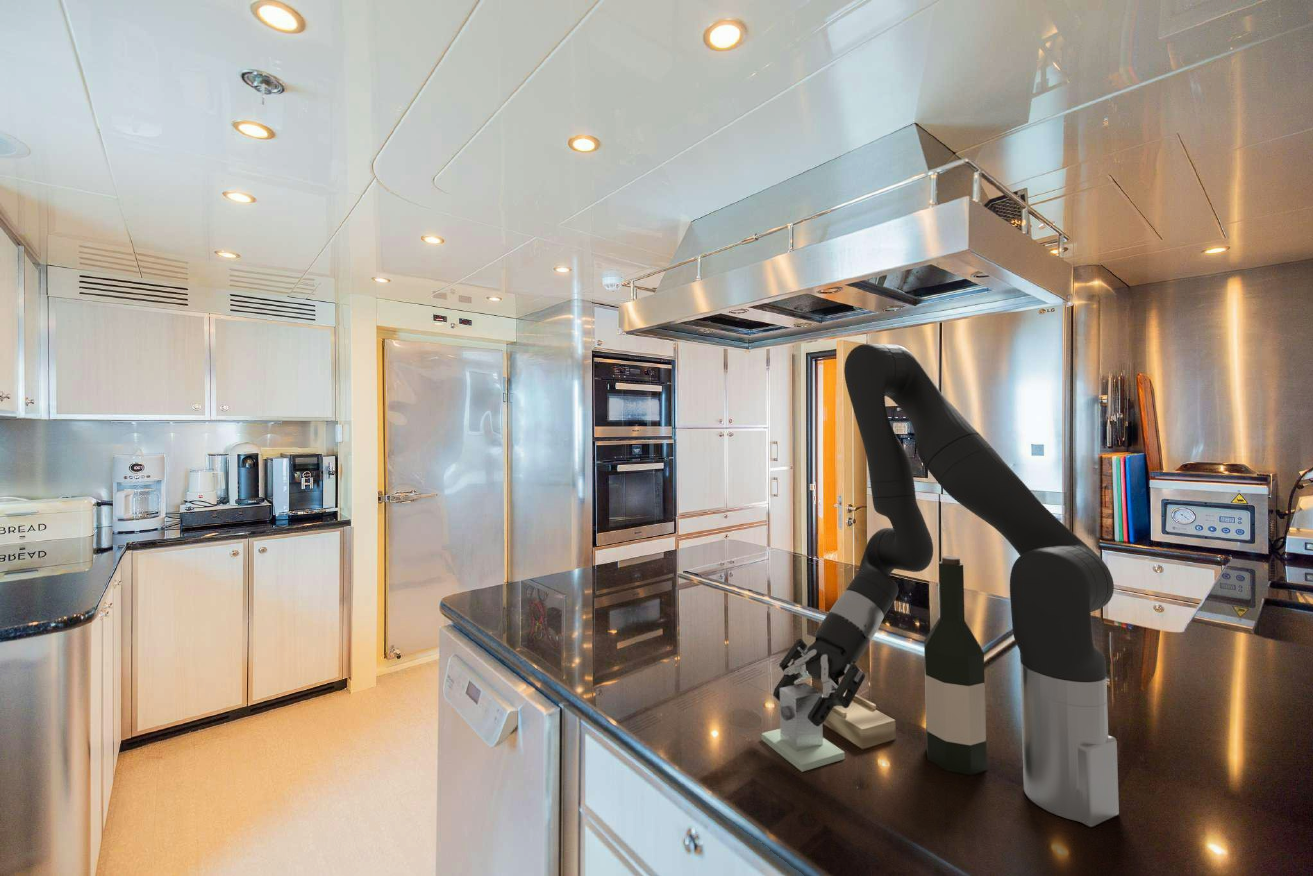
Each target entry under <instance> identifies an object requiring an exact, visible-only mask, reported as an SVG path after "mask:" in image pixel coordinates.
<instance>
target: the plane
mask: <svg viewBox="0 0 1313 876" xmlns="http://www.w3.org/2000/svg"><path fill="white" fill-rule="evenodd" d="M811 686H812V687H814V688H816V689H817V690H819V691H821V692H822V697H823V684H822V682H821V681H820V680H817V679H815V678H813V677H811ZM845 694H846V692H845V693H844V695H843V696H845ZM823 725H824V726H826V727H828V728H829V729H830V730H832V731H834V732H836V733H837V734H838V735H840V736H841V737H843V738H845V739H847V740H848V741H849V742H851V743H853V744H854V745H856V746H857V747H859V748H860V749H861V750H864V749H868V748H871V747H873V746H877V745H881V744H884V743H888V742H891V741H895V740H896V739H897V737H896V735H897V732H896V731H897V730H896V719H894V718H892V717H890V716H888V715H886V714H885V713H883V712H882V711H880V710H877V705H876V704H875V703H873V702H872V701H869V700H867V699H866V698H864V697H862V696H860V695H858V694H856V695H855V696H854V698H853V700H852V702H851V704H850V705H849V707H848V708H843V707H842V706H836V707H833V708H832V710H831V711H830V713H829V715H828V716H827V718H826V719H825V721H824V722H823Z"/></svg>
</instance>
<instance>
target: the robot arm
mask: <svg viewBox="0 0 1313 876" xmlns="http://www.w3.org/2000/svg"><path fill="white" fill-rule="evenodd" d="M843 370H844V371H843V372H844V380H845V385H846V389H847V393H848V397H849V399H850V402H851V403H850V404H851V406H852V409H853V413H854V417H855V420H856V425H857V426H858V430H859V433H860V436H861V441H862V444H863V447H864V448H863V449H864V451H865V456H866V461H867V467H868V474H869V481H870V490H871V497H872V498H871V499H872V504H873V509H874V511H875V512H876V513H877V514H879V515H881V516H884V517H886V518H887V519H888V520H889V522H890V525H891V526H892V527H884V528H880V529H879V530H877V531H876V532H875V533H873V535H871V536H870V538H869V540H868V542H867V543H866V547H865V548H864V552H863V555H862V558H861V560H860V564H859V567H858V571H857V573H856V575H855V576H854V577H853V579H851V580H852V581H851V582H850V583H849V585H848V587H847V588H846V590H844V592H843V593H842V594H841V595H840V596H839V597H838V598H837V600H836V601H835V603H834V604H833V606H832V607H831V608H830V610H829V611H828V613H827V614H826V616H825V618H824V619H823V620H822V622H821V623H820V625H819V626H818V628H817V629H816V630H815V635H814V636H815V640H814V642H813V643H812V644H810V645H809V644H807V643H806V642H805V641H804V640H803V639H802V638H798V639H797V640H796V641H795V643H794V644H793V645H792V647H791V648H790V649H789V651H788V652H787V654H785V656H784V657H783V659H782V660H781V661H780V663H779V668H780V669H781V670H782V672H783V676H782V677H781V679H780V681H779V682H778V683H777V685H776V686H775V688H774V691H773V693H772V694H773V697H774V698H775V700H777V701H779V702H780V688H783V687H787V686H792V685H796V683H798V682H800V681H802V680H803V679H805V680H809V679H812V677H813V678H815V679H817V680H820V681H821V682H822V684H823V697H821V696H820V697H819V699H818V700H817V702H816V703H815V705H814V706H813V708H812V710H811V711H810V713H809V714H808V719H809V720H810V721H811V722H812V723H813V724H814V725H815V726H819V725H820V724H822V723H823V722H824V721H825V719H826V718H827V716H828V715H829V713H830V711H831V710H832V708H833V707H836V706H842V707H843V708H848V707H849V705H850V704H851V702H852V700H853V698H854V696H855V695H857V692H858V691H859V689H860V687H861V685H862V684H863V682H864V680H865V677H866V674H865V673H864V672H863V671H862V669H861V668H859V666H857V663H858V662H859V660H860V659H861V657H862V656H863V654H864V652H865V651H866V649H867V647H868V646H869V645H870V643H871V641H872V640H873V638H874V637H875V635H876V634H877V632H878V630H879V628H880V627H881V626H880V625H881V624H882V622H883V619H884V617H885V616H886V615H887V613H888V612H889V610H890V608H891V607H892V605H893V603H894V602H895V600H896V598H897V596H898V594H899V587H898V583H897V582H896V581H895V579H894V578H892V577H891V574H892V573H893V571H894V570H898V571H904V572H905V571H906V572H912V573H918V572H919V573H920V572H922V571H925V570H926V569H927V568H928V567H929V566H930V564H931V562H932V560H933V555H934V543H933V539H932V537H931V536H932V535H931V533H930V531H929V529H928V526H927V524H926V521H925V518H924V516H923V513H922V512H921V509H920V507H919V504H918V502H917V494H916V487H915V479H914V473H913V468H912V465H911V461H910V458H909V456H908V453H907V451H906V450H905V448H904V446H903V445H902V442H901V441H900V440H899V438H898V435H896V432H895V430H894V429H893V426H892V424H891V421H890V418H889V416H888V412H887V407H886V400H885V399H886V398H885V397H887V398H889V399H890V400H891V401H892V402H893V403H895V404H896V406H898V408H899V409H900V410H901V411H902V412H903V413H904V414H905V416H906V417H907V419H908V420H909V422H910V423H911V426H912V429H913V434H914V440H915V441H914V442H915V445H916V450H917V453H918V456H919V458H920V461H921V462H922V464H923V465H924V467H925V468H926V469H927V471H928V472H929V473H930V475H932V476H931V477H933V478H934V480H935V481H936V482H937V483H938V484H939V485H940V487H941V488H942V489H943V490H944V491H945V492H946V493H947V494H948V496H950V497H951V498H952V499H954V501H956V502H957V503H958V504H960V505H961V506H963V507H964V508H966V509H967V510H969V512H971V513H972V514H974V515H975V516H977V517H978V518H980V519H981V520H983V521H985V522H986V523H988V525H990V526H991V527H993V528H994V529H995V530H996V531H997V532H998V533H1000V534H1001V535H1002V537H1004V539H1005V540H1007V542H1008V543H1009V544H1010V545H1011V547H1012V548H1014V550H1015V551H1016V552H1017V554H1018V555H1019V556H1018V557H1017V558H1016V560H1015V561H1014V563H1013V565H1012V567H1011V571H1010V577H1009V598H1010V600H1009V601H1010V610H1011V611H1010V612H1011V613H1010V614H1011V625H1012V627H1011V628H1012V635H1013V639H1014V642H1015V644H1016V646H1017V648H1018V649H1019V659H1020V660H1019V661H1020V700H1021V701H1020V703H1021V736H1022V737H1021V738H1022V739H1021V740H1022V741H1021V743H1022V744H1021V745H1022V767H1023V768H1022V775H1023V776H1022V777H1023V791H1024V794H1025V795H1026V797H1027V798H1028V799H1029V800H1030V801H1031V802H1033V803H1034V804H1035V805H1037V806H1038V807H1040V808H1041V809H1043V810H1045V811H1047V812H1048V813H1051V814H1054V815H1056V816H1059V817H1062V818H1064V819H1067V820H1072V821H1075V822H1080V823H1082V824H1084V826H1085V825H1086V826H1087V827H1089V828H1093V827H1095V826H1096V825H1099V824H1101V823H1103V822H1105V821H1107V820H1110V819H1112V818H1114V817H1116V816H1118V815H1119V813H1120V811H1119V810H1120V809H1119V806H1120V805H1119V779H1118V778H1119V776H1118V774H1119V773H1118V745H1117V743H1118V742H1117V738H1115V737H1114V736H1111V735H1110V734H1109V724H1108V723H1109V722H1108V721H1109V720H1108V719H1109V717H1108V716H1109V715H1108V690H1107V689H1108V688H1107V684H1108V683H1107V659H1106V656H1105V655H1104V653H1103V652H1102V651H1101V650H1100V649H1099V648H1097V647H1096V646H1095V645H1094V641H1093V629H1092V615H1091V614H1092V613H1093V612H1096V611H1099V610H1100V609H1102V608H1104V607H1106V605H1108V604H1109V603H1110V601H1111V599H1112V598H1113V596H1114V591H1115V587H1114V580H1113V576H1112V574H1111V571H1110V569H1109V567H1108V566H1107V564H1106V562H1105V561H1104V560H1103V559H1102V558H1101V557H1100V556H1099V555H1098V554H1097V553H1096V552H1095V551H1094V550H1093V549H1092V548H1091V547H1090V546H1088V545H1087V544H1086V543H1085V542H1084V541H1083V540H1082V539H1080V537H1078V536H1077V535H1076V534H1075V533H1074V532H1073V531H1072V530H1070V528H1068V527H1067V526H1066V525H1065V524H1064V523H1063V522H1062V521H1060V520H1059V519H1058V518H1057V517H1056V516H1055V515H1054V514H1052V513H1051V511H1050V510H1049V509H1047V508H1046V507H1045V505H1043V503H1041V501H1040V500H1039V499H1038V498H1037V497H1036V496H1035V494H1034V493H1033V492H1032V491H1031V490H1030V489H1029V487H1028V486H1027V485H1026V484H1025V483H1024V482H1023V480H1022V479H1020V477H1019V476H1018V475H1017V474H1016V473H1015V472H1014V471H1013V470H1012V469H1011V468H1010V466H1009V465H1008V464H1007V463H1006V462H1005V461H1004V460H1003V458H1002V457H1001V456H1000V455H999V454H998V453H997V451H996V450H995V449H994V448H993V447H992V445H990V444H989V442H988V441H987V440H986V439H985V438H984V437H983V436H982V435H981V433H979V432H978V431H977V430H976V429H975V428H974V427H973V426H972V425H971V424H970V423H969V422H968V420H966V419H965V417H964V416H963V415H962V414H961V413H960V411H959V410H958V409H956V407H955V406H954V405H953V404H952V403H951V402H950V401H949V400H948V399H947V398H946V396H944V395H943V394H942V392H941V391H940V389H939V388H938V387H937V385H935V383H934V382H933V380H932V379H931V378H930V376H929V374H928V373H927V372H926V371H925V369H924V368H923V367H922V364H920V362H919V361H918V360H917V359H916V357H915V355H913V353H911V351H909V350H908V349H907V348H905V347H903V346H901V345H897V344H891V343H862V344H859V345H857V346H855V347H854V348H853V349H851V351H850V352H849V353H848V354H847V356H846V358H845V361H844V369H843ZM791 661H792V663H791V664H790V662H791ZM789 664H790V665H789ZM841 678H842V679H841ZM844 693H846V694H845V696H843V695H844Z"/></svg>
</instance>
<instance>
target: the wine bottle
mask: <svg viewBox="0 0 1313 876" xmlns="http://www.w3.org/2000/svg"><path fill="white" fill-rule="evenodd" d="M938 574H939V615H940V617H939V618H938V619H937V620H936V622H935V624H934V625H933V627H932V628H931V629H930V631H929V633H928V634H927V635H926V637H925V638H924V640H923V646H924V648H923V651H924V654H923V655H924V689H925V690H924V692H925V693H924V696H925V701H924V702H925V734H926V735H925V737H926V738H925V740H926V741H925V742H926V755H927V760H928V761H930V762H932V763H934V764H935V765H936V766H938V767H940V768H941V769H943V770H944V771H948V772H953V773H958V774H964V775H969V776H973V775H976V774H978V773H983V772H986V771H988V764H987V762H988V761H987V760H988V759H987V758H988V757H987V727H986V726H987V723H986V722H987V721H986V715H987V714H986V685H985V684H986V682H985V681H986V680H985V654H984V650H983V649H982V646H981V645H980V643H979V641H978V640H977V638H976V637H975V635H974V633H973V631H972V630H971V628H970V627H969V625H968V624H967V622H966V620H965V619H966V617H965V586H964V585H965V583H964V582H965V581H964V577H965V576H964V574H965V573H964V564H963V563H962V562H961V558H960V557H958V556H948V555H947V556H941V561H939V562H938Z"/></svg>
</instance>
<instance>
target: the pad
mask: <svg viewBox="0 0 1313 876" xmlns="http://www.w3.org/2000/svg"><path fill="white" fill-rule="evenodd" d="M761 740H762V741H763V742H764V743H765V744H766V745H768V746H769V748H771V749H773V750H774V751H775V752H776V753H778V754H779V755H780V756H781V757H783V758H784V759H785V760H786V761H788V762H789V763H790V764H792V765H793V766H794V767H795V768H796V769H798V770H799V771H801V772H805V771H809V770H812V769H816V768H819V767H820V768H821V767H822V766H825V765H830V764H832V763H836V762H839V761H843V760H845V759H846V757H845V751H844V750H842V749H841V748H839V747H837V746H836V745H835V744H834V743H832V742H831V741H829V740H828V739H826V738H825V737H823V745H820V746H816V747H813V748H809V749H806V750H802V751H799V752H796V751H795V750H793V749H792V748H791V747H789V746H788V745H787V744H785V743H784V742H783V741H782V740H780V728H776V729H773V730H768V731H764V732H761Z"/></svg>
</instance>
